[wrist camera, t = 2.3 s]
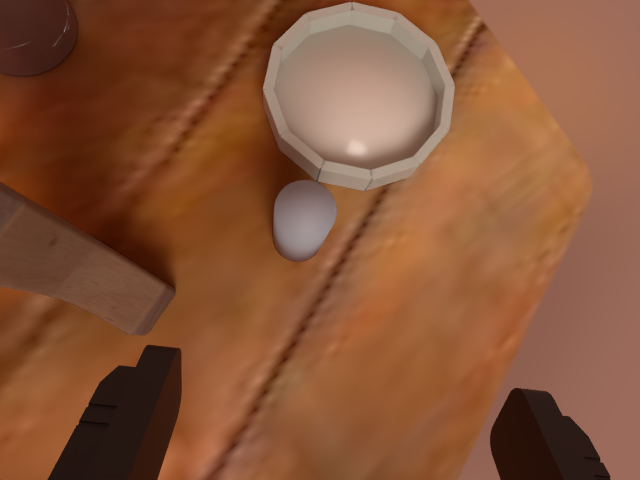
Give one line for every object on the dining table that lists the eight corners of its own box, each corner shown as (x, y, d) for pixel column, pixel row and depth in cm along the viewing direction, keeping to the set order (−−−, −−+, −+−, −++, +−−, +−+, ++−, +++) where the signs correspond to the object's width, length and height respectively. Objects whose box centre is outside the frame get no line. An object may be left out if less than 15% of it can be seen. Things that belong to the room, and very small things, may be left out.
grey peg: (268, 256, 41) (268, 233, 32) (278, 209, 42) (280, 174, 33) (317, 265, 41) (330, 246, 32) (326, 218, 42) (341, 186, 33)
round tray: (249, 167, 42) (247, 154, 39) (285, 8, 46) (286, -14, 43) (429, 204, 43) (441, 194, 40) (450, 46, 47) (462, 27, 44)
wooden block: (178, 291, 39) (107, 251, 22) (146, 337, 38) (43, 334, 21) (89, 234, 39) (-53, 150, 22) (54, 279, 38) (-124, 227, 21)
